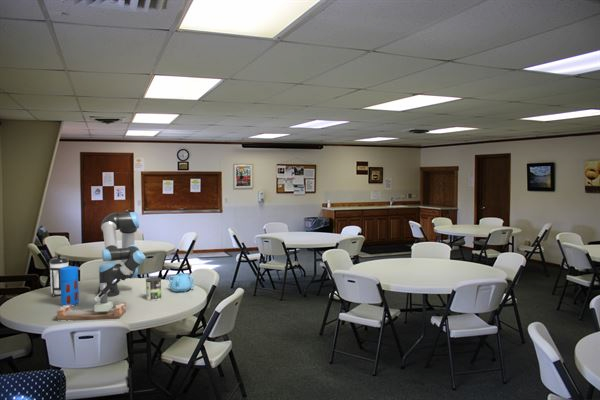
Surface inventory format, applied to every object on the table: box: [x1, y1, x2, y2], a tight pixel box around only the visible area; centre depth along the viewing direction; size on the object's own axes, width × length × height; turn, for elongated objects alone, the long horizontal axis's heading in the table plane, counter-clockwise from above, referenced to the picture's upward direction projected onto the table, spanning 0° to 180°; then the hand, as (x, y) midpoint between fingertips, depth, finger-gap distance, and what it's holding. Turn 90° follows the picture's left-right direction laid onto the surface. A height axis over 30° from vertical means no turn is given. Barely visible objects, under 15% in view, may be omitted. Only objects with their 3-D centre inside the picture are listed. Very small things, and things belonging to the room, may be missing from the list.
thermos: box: [60, 265, 80, 306], centre depth 309 cm, size 11×11×25 cm
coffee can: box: [145, 277, 162, 302], centre depth 321 cm, size 10×10×14 cm
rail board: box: [56, 302, 127, 322], centre depth 282 cm, size 14×38×7 cm, turn 96°
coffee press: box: [48, 253, 70, 296], centre depth 334 cm, size 17×16×30 cm
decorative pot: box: [167, 272, 195, 293], centre depth 344 cm, size 16×16×14 cm
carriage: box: [94, 283, 114, 312], centre depth 282 cm, size 10×8×16 cm
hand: (98, 298), depth 282 cm, fingers open, 9 cm apart
